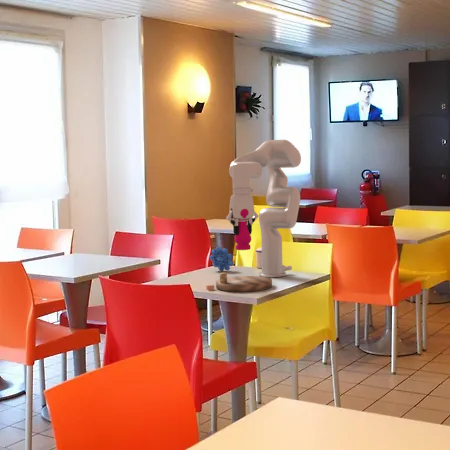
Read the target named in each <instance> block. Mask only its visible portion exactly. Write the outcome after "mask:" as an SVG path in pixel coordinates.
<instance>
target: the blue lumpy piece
mask: <svg viewBox="0 0 450 450" xmlns="http://www.w3.org/2000/svg"><path fill="white" fill-rule="evenodd" d="M210 253H211V255H210V256H209V260H210V261H211V262H212V266H213V267H214V268H218V270H219V271H221V272H223V271H224V270H225V271H229V270H230V269H231V267H232V266H233V265H234V262H233V260H232V259H233V254H232V253H229V250H228V249H227V248H225V247H223V248H222V247H220V246H216V247H215V249H214V248H213V249H211V251H210Z"/></svg>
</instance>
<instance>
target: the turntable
mask: <svg viewBox="0 0 450 450" xmlns="http://www.w3.org/2000/svg"><path fill="white" fill-rule="evenodd" d="M215 288H216V289H218V290H220V291H223V292H224V291H226V292H257V291H263V290H267V289H271V288H273V279H272V278H271V277H261V276H259V275H258V276H257V275H256V276H255V275H238V276H236V275H235V276H228V273H227V272H220V273H219V279H217V280H216V281H215Z"/></svg>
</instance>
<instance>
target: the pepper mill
mask: <svg viewBox="0 0 450 450" xmlns="http://www.w3.org/2000/svg"><path fill="white" fill-rule="evenodd" d="M248 214H249V212H248V210H247V209H242V210H241V212H240V215H241V216H242V217H243V218H241V219H239V221H238V226H239V235H234V242H235V250H236V251H249V250H251V244H250V243H251V242H252V234H250V233H249V231H248V228H247V221H248V218H246V217H247V216H248Z"/></svg>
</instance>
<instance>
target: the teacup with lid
mask: <svg viewBox="0 0 450 450" xmlns="http://www.w3.org/2000/svg"><path fill="white" fill-rule="evenodd" d="M255 255H256V268H257V269H261V270H262V246H260V247H258V248H257V249H255Z"/></svg>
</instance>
